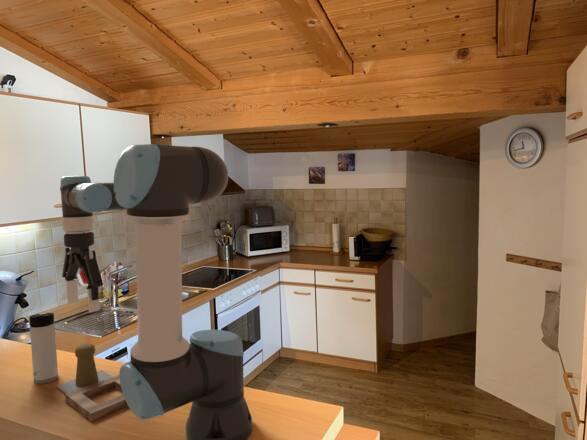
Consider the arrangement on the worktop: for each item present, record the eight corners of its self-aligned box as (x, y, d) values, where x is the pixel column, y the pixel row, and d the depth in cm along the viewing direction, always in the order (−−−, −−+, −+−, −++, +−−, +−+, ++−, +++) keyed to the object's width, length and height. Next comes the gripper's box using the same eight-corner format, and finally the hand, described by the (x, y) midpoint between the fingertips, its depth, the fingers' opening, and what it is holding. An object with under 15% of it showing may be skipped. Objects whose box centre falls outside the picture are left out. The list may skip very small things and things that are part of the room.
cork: (102, 377, 128) (99, 340, 127) (93, 386, 122) (90, 348, 121) (81, 377, 128) (78, 341, 127) (71, 387, 122) (68, 349, 121)
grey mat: (116, 380, 127) (116, 378, 127) (70, 397, 117) (69, 395, 117) (102, 371, 133) (102, 370, 133) (56, 387, 123) (56, 385, 123)
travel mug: (32, 386, 124) (27, 317, 122) (35, 376, 130) (30, 311, 128) (57, 381, 127) (52, 314, 125) (58, 372, 133) (54, 308, 131)
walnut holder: (147, 397, 117) (147, 390, 117) (91, 421, 106) (90, 413, 105) (120, 381, 127) (119, 374, 126) (65, 401, 115) (65, 394, 115)
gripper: (113, 233, 115) (117, 311, 117) (73, 227, 132) (77, 296, 134) (84, 236, 110) (89, 318, 112) (46, 230, 126) (51, 301, 128)
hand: (83, 306), depth 123 cm, fingers open, 13 cm apart
